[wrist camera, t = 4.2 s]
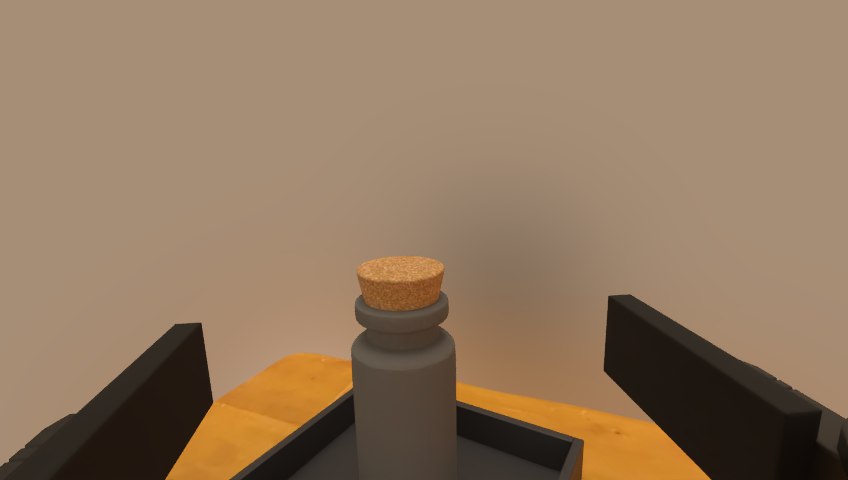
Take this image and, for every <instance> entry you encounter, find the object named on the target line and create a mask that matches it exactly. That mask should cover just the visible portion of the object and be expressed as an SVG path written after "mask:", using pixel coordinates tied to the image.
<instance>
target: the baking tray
mask: <svg viewBox="0 0 848 480" xmlns="http://www.w3.org/2000/svg"><path fill="white" fill-rule="evenodd" d="M456 432H457V480H581V479H582V463H583V447H584V440H582V439H578V438H574V437H572V436H569V435H565V434H562V433H559V432H556V431H553V430H549V429H546V428H543V427H540V426H537V425H533V424H530V423H527V422H524V421H521V420H517V419H514V418H511V417H508V416H505V415H501V414H498V413H495V412H492V411H489V410H485V409H482V408H479V407H476V406H473V405H469V404H466V403H463V402H460V401H457V400H456ZM230 480H359V468H358V453H357V438H356V424H355V409H354V394H353V388H352V389H351V390H350V391H348V392H347V393H345V394H344V395H343V396H341V397H340V398H339V399H337V400H336V401H335V402H333V403H332V404H331V405H329V406H328V407H327V408H325V409H324V410H323V411H321V412H320V413H319V414H317V415H316V416H314V417H313V418H312V419H310V420H309V421H308V422H306V423H305V424H304V425H302V426H301V427H300V428H298V429H297V430H296V431H294V432H293V433H292V434H290V435H289V436H288V437H286V438H285V439H284V440H282V441H281V442H279V443H278V444H277V445H275V446H274V447H273V448H271V449H270V450H269V451H267V452H266V453H265V454H263V455H262V456H261V457H259V458H258V459H257V460H255V461H254V462H253V463H251V464H250V465H249V466H247V467H246V468H244V469H243V470H242V471H240V472H239V473H238V474H236V475H235V476H234V477H232V478H231V479H230Z"/></svg>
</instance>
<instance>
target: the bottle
mask: <svg viewBox="0 0 848 480" xmlns="http://www.w3.org/2000/svg"><path fill="white" fill-rule="evenodd" d="M443 274H444V266H443V264H442V263H440V262H439V261H436V260H434V259H430V258H425V257H416V256H395V257H385V258H380V259H375V260H372V261H368V262H366V263H364V264H362V265H360V266H359V267H358V268H357V276H358V280H359V283H360V287H361V291H362V295H360V296H359V297H358V298H357V299H356V302H355V315H356V320H357V321H358V322H359V324H361V325H362V326H363V327H365V328H367V329H366V330H365V331H364V332H362V333H361V334H360V335H359V336H358V337H357V338H356V339H355V341H354V343H353V345H352V349H351V356H352V379H353V394H354V409H355V424H356V438H357V453H358V468H359V480H457V432H456V355H455V354H456V353H455V343H454V339H453V338H452V336H451V335H450V334H449V333H448V332H447V331H445V330H444V329H443V328H441V327H440V326H438V325H439V324H440V323H442V322H443V321H444V320H445V319H446V318H447V316H448V310H449V308H448V307H449V306H448V298H447V296H446V295H445V294H444V293H443V292H442V291H440V289H441V283H442V278H443Z"/></svg>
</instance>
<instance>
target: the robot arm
mask: <svg viewBox="0 0 848 480" xmlns="http://www.w3.org/2000/svg"><path fill="white" fill-rule="evenodd" d="M604 371H605V372H606V373H607V375H608V376H609V377H610V378H611V379H613V381H614V382H616V384H617V385H619V387H620V388H621V389H622V390H623V391H624V392H625V393H626V394H627V395H628V396H629V397H630V398H631V399H632V400H633V401H634V402H635V403H636V404H637V405H638V406H639V407H640V408H641V409H642V410H643V411H644V412H645V413H646V414H647V415H648V416H649V417H650V418H651V419H652V420H653V421H654V422H655V423H656V424H657V425H658V426H659V427H660V428H661V429H662V430H663V431H664V432H665V433H666V434H667V435H668V436H669V437H670V438H671V439H672V440H673V441H674V442H675V443H676V444H677V445H678V446H679V447H680V448H681V449H682V450H683V451H684V452H685V453H686V454H687V455H688V456H689V457H690V458H691V459H692V460H693V461H694V462H695V463H696V464H697V465H698V466H699V467H700V469H701V470H702V471H703V472H704V473H705V474H706V475H707V476H708V477H709V478H710V479H711V480H848V418H847V419H845V418H843V417H841V416H840V415H838V414H836V413H835V412H833V411H831V410H830V409H828V408H826V407H825V406H823V405H821V404H820V403H818V402H816V401H814V400H812V399H811V398H809V397H808V396H806V395H804V394H803V393H801V392H799V391H798V390H793V389H792V387H791V386H789V385H787V384H786V383H784V382H782V381H781V380H777V378H775V377H774V376H772V375H770V374H769V373H767V372H765V371H764V370H762V369H760V368H759V367H756V366H754V365H751V364H748V363H746V362H743V361H741V360H738V359H736V358H735V357H733V356H731V355H730V354H728V353H727V352H725V351H723V350H722V349H720V348H718V347H716V346H715V345H713V344H712V343H710V342H708V341H706V340H705V339H703V338H702V337H700V336H698V335H697V334H695V333H693V332H692V331H690V330H688V329H687V328H685V327H683V326H682V325H680V324H678V323H677V322H675V321H673V320H672V319H670V318H668V317H667V316H665V315H663V314H662V313H660V312H658V311H657V310H655V309H654V308H652V307H650V306H649V305H647V304H645V303H644V302H642V301H640V300H639V299H637V298H635V297H634V296H632V295H615V296H608V311H607V327H606V342H605V357H604ZM212 404H213V398H212V391H211V384H210V377H209V371H208V364H207V357H206V351H205V344H204V337H203V331H202V324H201V323H187V324H175V325H174V326H173V327H172V328H171V329H169V330H168V331H167V332H166V333H165V334H164V335H163V336H162V337H161V338H160V339H159V340H157V341H156V342H155V343H154V344H153V345H152V346H151V347H150V348H148V349H147V350H146V351H145V352H144V353H143V354H142V355H141V356H140V357H139V358H137V359H136V360H135V361H134V362H133V363H132V364H131V365H130V366H129V367H127V368H126V369H125V370H124V371H123V372H122V373H121V374H120V375H119V376H118V377H116V378H115V379H114V380H113V381H112V382H111V383H110V384H109V385H108V386H106V387H105V388H104V389H103V390H102V391H101V392H100V393H99V394H98V395H97V396H95V397H94V398H93V399H92V400H91V401H90V402H89V403H88V404H87V405H85V406H84V407H83V408H82V409H81V410H80V411H79V412H78V413H77V414H69V415H68V416H66V417H64V418H62V419H61V420H59V421H57V422H55V423H54V424H52V425H50V426H49V427H47V428H45V429H44V430H42V431H41V432H40V433H39V434H38V435H37V436H35V437H34V438H33V439H32V440H31V441H30V442H29V443H27V444H26V445H25V448H23V449H21V450H19V451H18V452H17V453H16V454H15V455H14V456H12V457H11V458H10V459H9V462H8V463H4V464H3V465H2V466H1V467H0V480H165V479H166V477H167V476H168V474H169V472H170V471H171V469H172V468H173V466H174V464H175V463H176V461H177V460H178V458H179V456H180V455H181V453H182V452H183V450H184V449H185V447H186V445H187V444H188V442H189V441H190V439H191V437H192V436H193V434H194V433H195V431H196V429H197V428H198V426H199V425H200V423H201V421H202V420H203V418H204V417H205V415H206V413H207V412H208V410H209V409H210V407H211V406H212Z"/></svg>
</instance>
